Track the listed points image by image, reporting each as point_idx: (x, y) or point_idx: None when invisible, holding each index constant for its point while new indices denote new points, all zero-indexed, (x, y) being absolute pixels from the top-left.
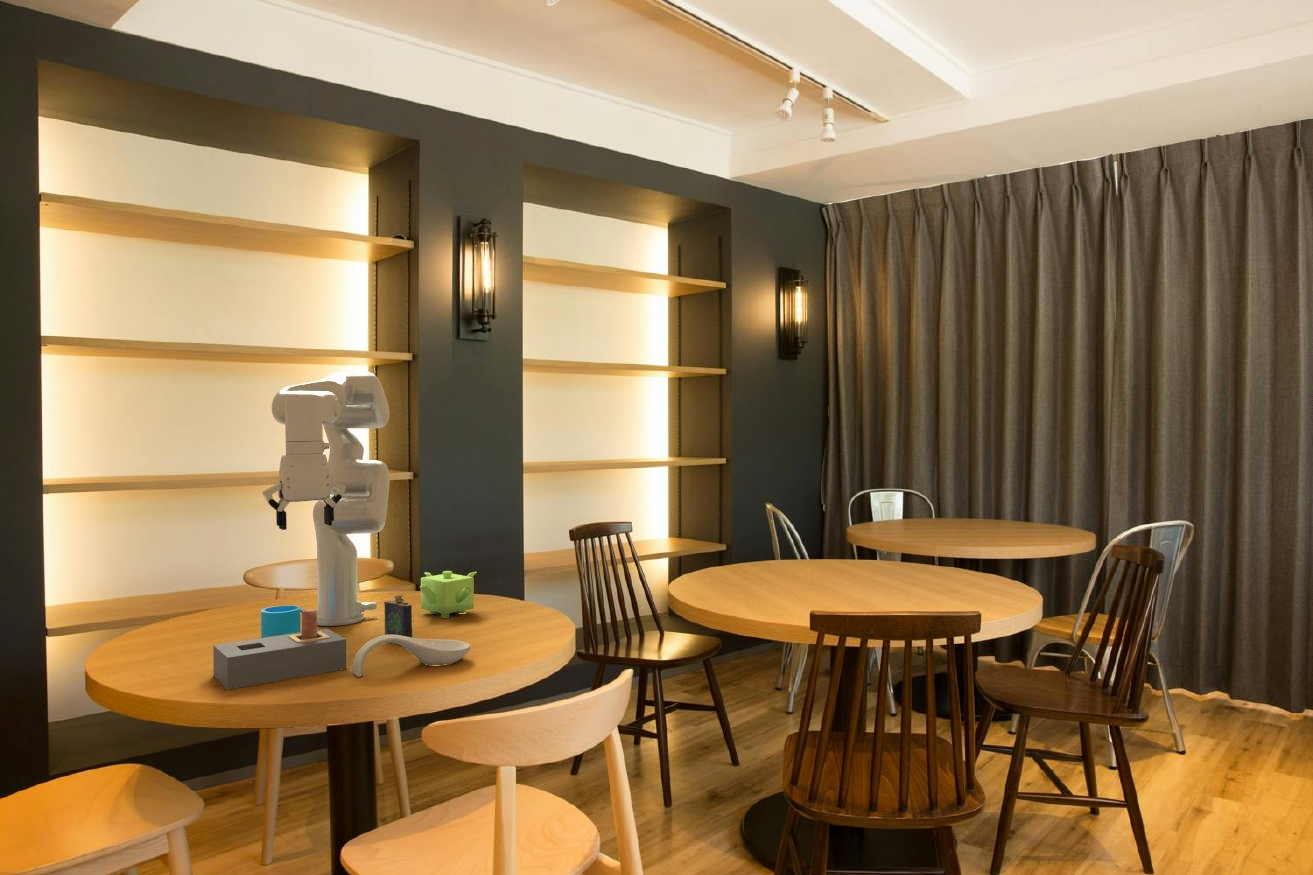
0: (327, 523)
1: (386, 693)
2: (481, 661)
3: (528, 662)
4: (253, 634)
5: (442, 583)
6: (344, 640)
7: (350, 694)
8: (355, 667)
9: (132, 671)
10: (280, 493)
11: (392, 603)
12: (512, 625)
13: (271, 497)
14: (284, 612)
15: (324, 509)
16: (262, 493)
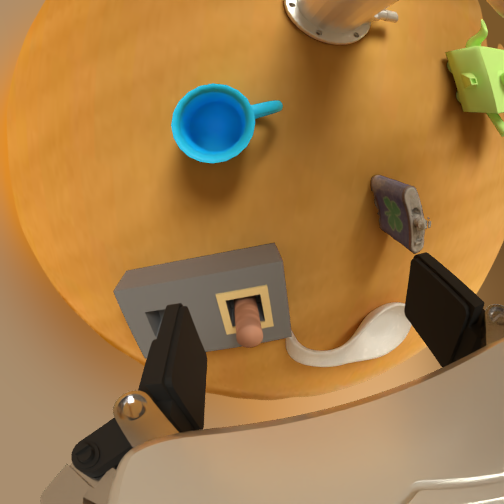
0: (408, 303)
1: (294, 391)
2: None
3: (424, 345)
4: (181, 31)
5: (494, 106)
6: (289, 336)
7: (266, 386)
8: (288, 346)
9: (39, 205)
10: (124, 489)
11: (409, 216)
12: (489, 199)
13: (106, 499)
14: (217, 162)
15: (455, 309)
16: (44, 497)
